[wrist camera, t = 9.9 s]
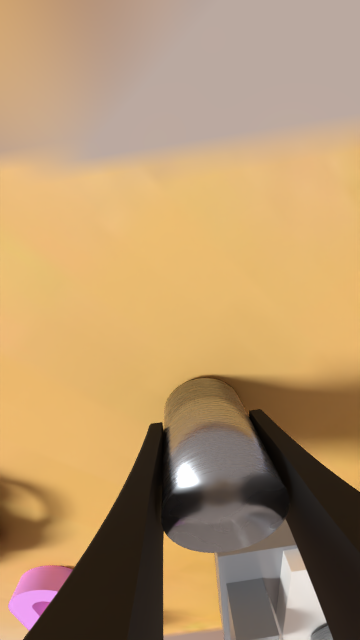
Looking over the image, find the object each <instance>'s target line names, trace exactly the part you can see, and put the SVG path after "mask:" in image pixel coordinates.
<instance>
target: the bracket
mask: <svg viewBox="0 0 360 640" xmlns="http://www.w3.org/2000/svg"><path fill="white" fill-rule="evenodd" d="M72 570H73V569H70V568H67V567H62V566H41V567H36V568H33V569H31V570H29V571H27V572H25V573H24V574H23V575H22V577H21V579H20V581H19V583H18V585H17V587H16V589H15V591H14V593H13V596H12V598H11V600H10V602H9V605H8V607H9V610H10V611H11V613H12V614H13V615H14V616H15V617H16V618H17V619H18V620H19V621H20V622H21V623H22V624H23V625H24V626H25V627H26V628H27V629H28V630H29V631H30V629H31V628H32V627H33V625H34V624H35V623H36V621H37V620H38V618H39V617H40V616H41V614H42V613H43V612H44V610H45V609H46V608H47V606H48V605H49V604H50V602H51V601H52V599H53V598H54V597H55V595H56V594H57V592H58V591H59V590H60V588H61V587H62V585H63V584H64V582H65V581H66V579H67V578H68V576H69V575H70V573H71V572H72Z"/></svg>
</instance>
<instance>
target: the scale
mask: <svg viewBox="0 0 360 640" xmlns="http://www.w3.org/2000/svg"><path fill="white" fill-rule="evenodd" d="M215 563H216V574H217V585H218V596H219V607H220V614H221V621H222V628H223V635H224V640H311V636H312V635H313V634H314V633H315V632H317V631H318V630H320V629H322V628H324V627H327V626H328V625H327V622H326V619H325V617H324V614H323V611H322V609H321V606H320V603H319V601H318V598H317V596H316V593H315V590H314V588H313V585H312V583H311V580H310V578H309V575H308V573H307V570H306V568H305V565H304V562H303V560H302V557H301V555H300V552H299V550H298V548H297V545H296V543H295V540H294V538H293V535H292V533H291V530H290V528H289V526H288V523H287V521H286V519H285V520H284V522H283V523H282V524H281V525H280V527H279V528H278V529H277V530H276V531H275V532H273V533H272V534H271V535H269V536H268V537H266V538H265V539H263V540H261V541H260V542H258V543H256V544H253V545H251V546H248V547H245V548H242V549H238V550H234V551H229V552H220V553H215Z"/></svg>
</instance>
